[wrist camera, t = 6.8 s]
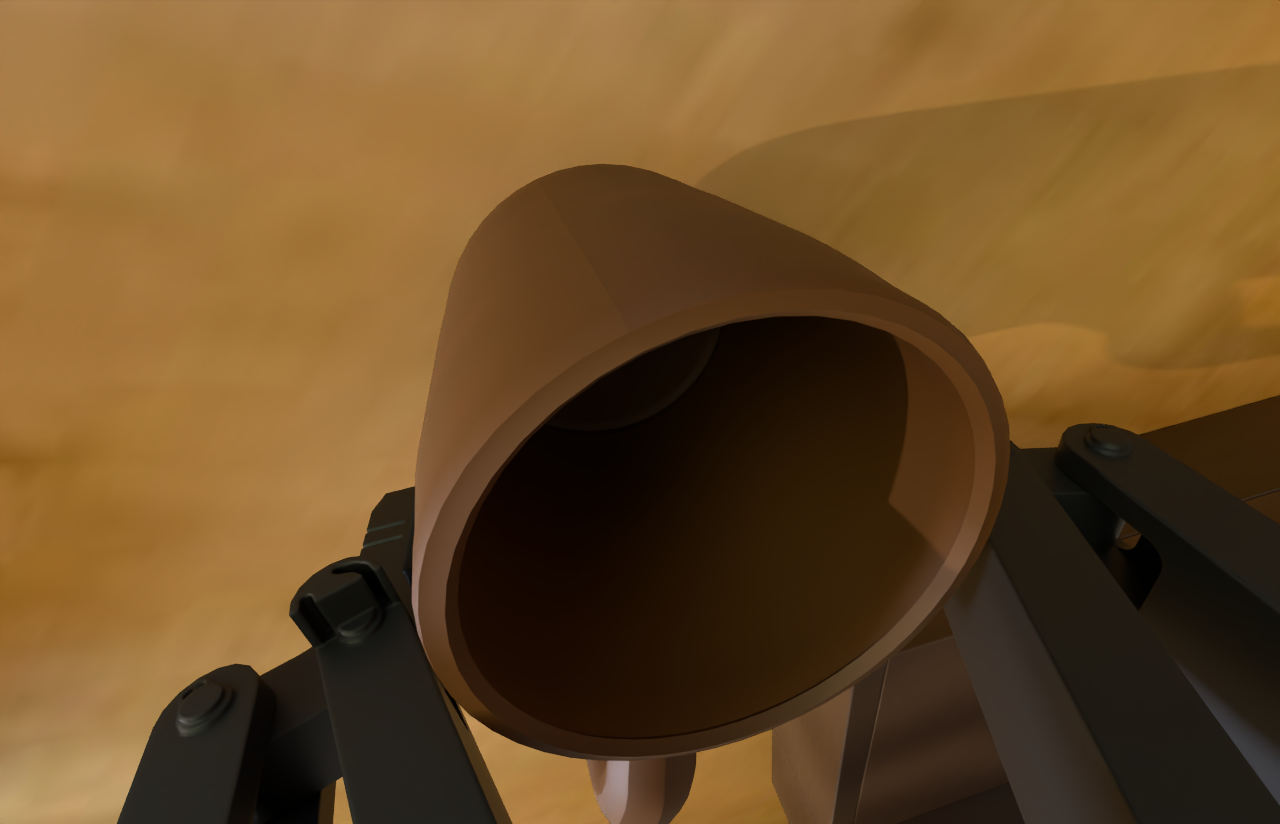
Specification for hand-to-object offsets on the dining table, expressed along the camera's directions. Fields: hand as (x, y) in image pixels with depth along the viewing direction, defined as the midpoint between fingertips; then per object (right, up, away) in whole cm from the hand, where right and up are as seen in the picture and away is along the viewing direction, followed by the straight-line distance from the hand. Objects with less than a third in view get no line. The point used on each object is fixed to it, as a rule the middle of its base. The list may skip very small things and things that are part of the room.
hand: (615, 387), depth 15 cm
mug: (-1, 0, 0) cm, 1 cm away
